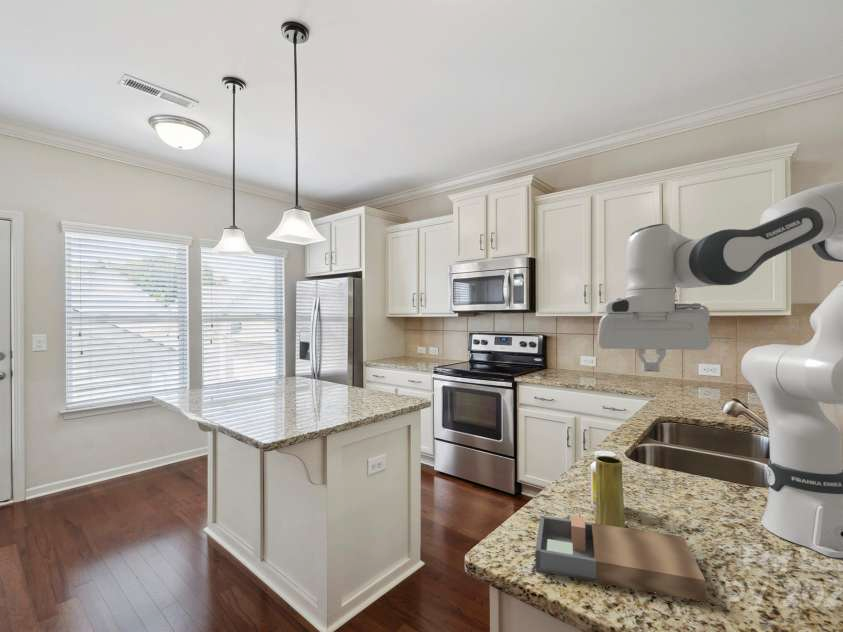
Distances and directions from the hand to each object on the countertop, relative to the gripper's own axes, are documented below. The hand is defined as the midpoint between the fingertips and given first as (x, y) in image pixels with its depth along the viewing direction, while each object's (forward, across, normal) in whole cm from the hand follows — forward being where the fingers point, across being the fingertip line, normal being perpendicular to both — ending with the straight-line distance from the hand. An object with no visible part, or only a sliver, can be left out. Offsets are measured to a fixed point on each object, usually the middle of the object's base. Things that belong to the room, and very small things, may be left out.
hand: (651, 371), depth 85 cm
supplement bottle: (+34, +8, -12) cm, 37 cm away
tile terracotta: (+31, +13, +8) cm, 35 cm away
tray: (+34, +17, +12) cm, 40 cm away
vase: (+34, +8, -3) cm, 35 cm away
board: (+34, +4, +12) cm, 36 cm away
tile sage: (+31, +18, +15) cm, 39 cm away
